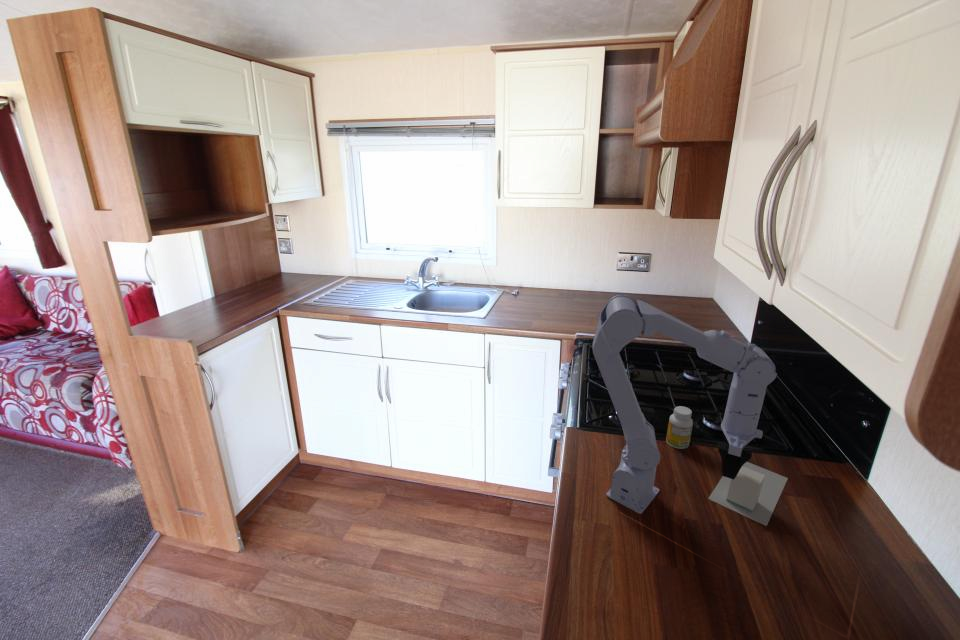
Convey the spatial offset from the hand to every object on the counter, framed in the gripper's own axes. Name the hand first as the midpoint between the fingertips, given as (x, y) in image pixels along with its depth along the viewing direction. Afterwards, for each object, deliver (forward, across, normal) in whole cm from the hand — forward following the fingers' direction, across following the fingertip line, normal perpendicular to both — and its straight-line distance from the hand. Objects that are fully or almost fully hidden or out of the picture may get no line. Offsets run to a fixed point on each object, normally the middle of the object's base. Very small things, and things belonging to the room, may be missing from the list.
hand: (730, 465), depth 92 cm
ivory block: (+10, +3, -4) cm, 11 cm away
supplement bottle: (+10, +18, +12) cm, 24 cm away
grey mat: (+10, +8, -5) cm, 14 cm away
